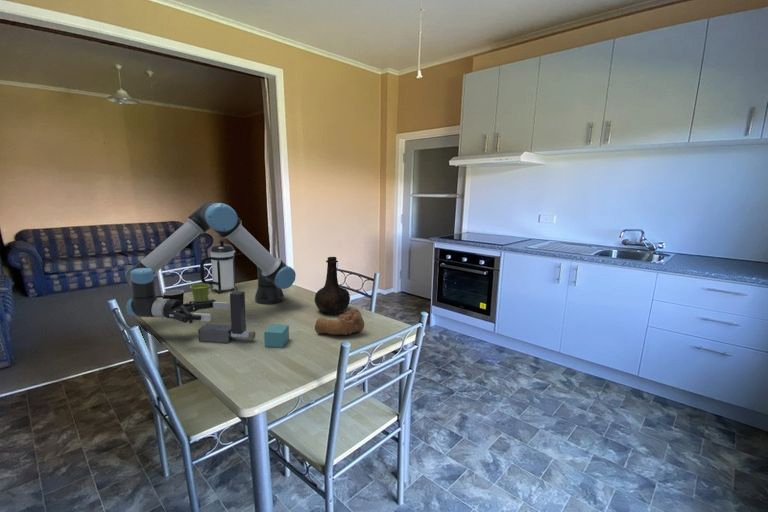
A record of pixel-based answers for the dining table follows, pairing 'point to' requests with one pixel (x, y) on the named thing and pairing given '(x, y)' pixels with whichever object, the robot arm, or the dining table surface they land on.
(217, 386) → the dining table surface
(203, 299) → the plant pot
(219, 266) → the coffee press
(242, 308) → the dark lever handle
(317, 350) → the dining table surface
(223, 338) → the outer sleeve
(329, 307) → the glass bottle
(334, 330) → the clay pipe
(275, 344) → the socket block
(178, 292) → the coffee mug
